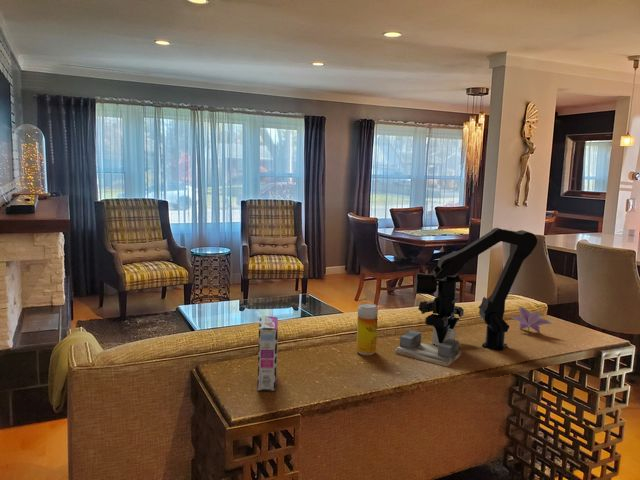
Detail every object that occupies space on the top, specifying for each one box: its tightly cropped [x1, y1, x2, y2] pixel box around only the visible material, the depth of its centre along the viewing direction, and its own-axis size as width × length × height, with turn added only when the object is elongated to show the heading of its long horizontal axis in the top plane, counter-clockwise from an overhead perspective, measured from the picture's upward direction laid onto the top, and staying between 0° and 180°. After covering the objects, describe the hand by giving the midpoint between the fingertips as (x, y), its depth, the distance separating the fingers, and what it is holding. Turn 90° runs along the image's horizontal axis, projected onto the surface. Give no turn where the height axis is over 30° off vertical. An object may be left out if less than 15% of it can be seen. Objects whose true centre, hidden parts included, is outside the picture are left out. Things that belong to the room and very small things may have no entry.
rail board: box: [395, 330, 462, 367], centre depth 156 cm, size 12×16×5 cm
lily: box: [511, 306, 552, 335], centre depth 180 cm, size 12×12×10 cm
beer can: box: [355, 302, 379, 356], centre depth 156 cm, size 6×6×15 cm
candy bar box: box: [257, 316, 279, 392], centre depth 132 cm, size 11×5×16 cm, turn 5°
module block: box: [431, 327, 456, 346], centre depth 166 cm, size 4×6×5 cm
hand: (443, 341), depth 166 cm, fingers closed on module block, 4 cm apart
